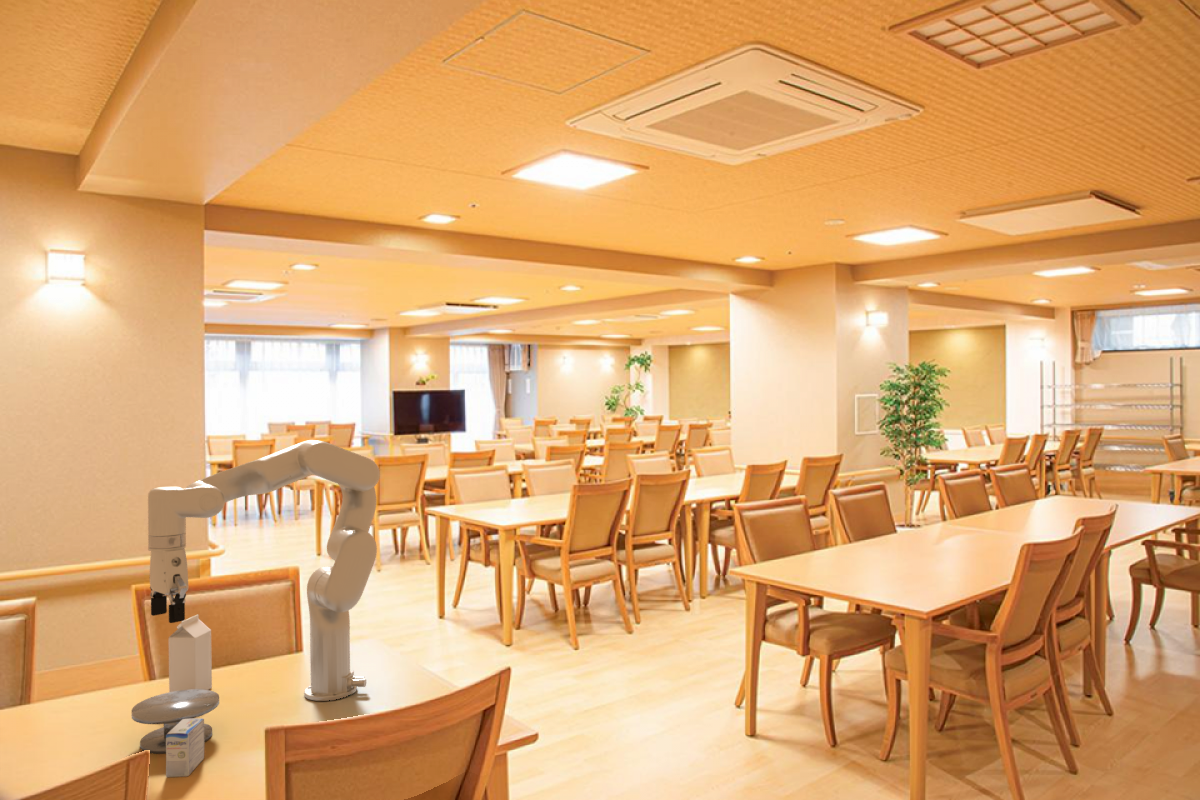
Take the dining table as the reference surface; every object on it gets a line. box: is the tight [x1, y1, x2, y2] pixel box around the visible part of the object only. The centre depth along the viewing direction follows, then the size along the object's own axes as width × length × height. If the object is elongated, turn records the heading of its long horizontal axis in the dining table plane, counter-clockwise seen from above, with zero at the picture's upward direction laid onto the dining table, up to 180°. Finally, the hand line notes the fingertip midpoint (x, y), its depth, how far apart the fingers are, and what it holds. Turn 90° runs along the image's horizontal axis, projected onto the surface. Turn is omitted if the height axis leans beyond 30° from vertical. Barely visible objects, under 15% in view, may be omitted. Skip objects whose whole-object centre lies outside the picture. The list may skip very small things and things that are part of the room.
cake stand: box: [131, 689, 220, 755], centre depth 178 cm, size 17×17×8 cm
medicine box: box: [165, 717, 205, 778], centre depth 164 cm, size 8×4×9 cm, turn 5°
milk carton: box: [168, 614, 213, 693], centre depth 207 cm, size 7×7×19 cm
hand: (167, 617), depth 183 cm, fingers open, 9 cm apart
